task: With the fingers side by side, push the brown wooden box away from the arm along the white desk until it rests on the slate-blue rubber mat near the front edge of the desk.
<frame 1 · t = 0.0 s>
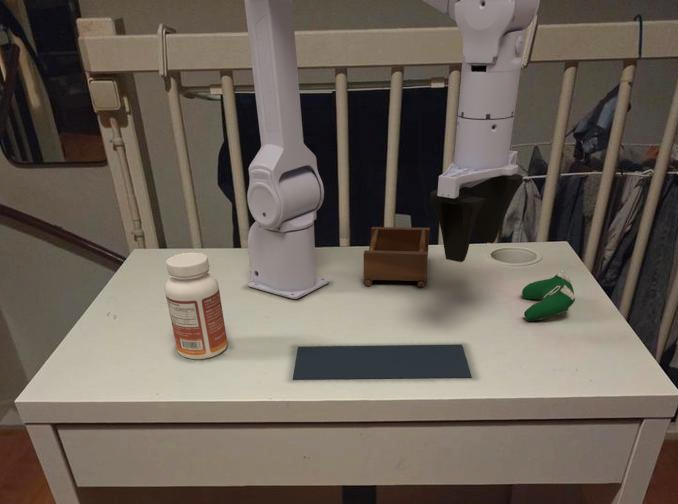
hand: (470, 250, 72), 10 cm above the table, tool pointing down, fingers open, 7 cm apart
mat: (380, 361, 72), on the table
pill bottle: (202, 350, 77), on the table
brown wooden box: (396, 273, 95), on the table
green slippers: (544, 311, 83), on the table
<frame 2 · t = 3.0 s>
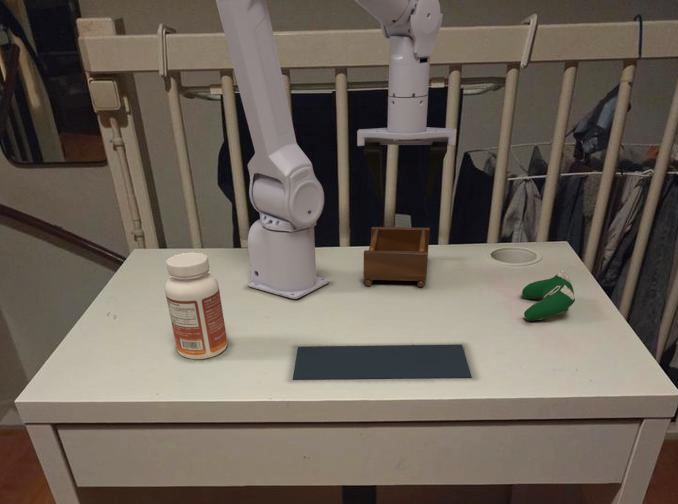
hand: (404, 196, 97), 8 cm above the table, tool pointing down, fingers open, 7 cm apart
nothing on the table moved.
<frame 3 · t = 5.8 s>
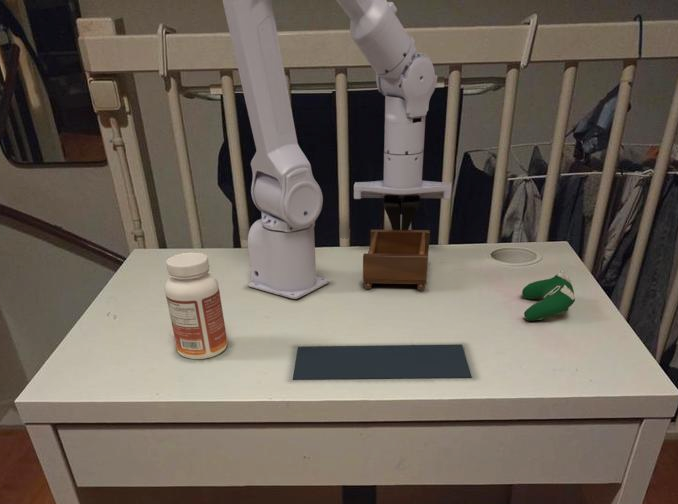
hand: (400, 246, 99), 2 cm above the table, tool pointing down, fingers closed, pressing on brown wooden box
brown wooden box: (396, 276, 94), on the table, touching gripper
everything else where it was.
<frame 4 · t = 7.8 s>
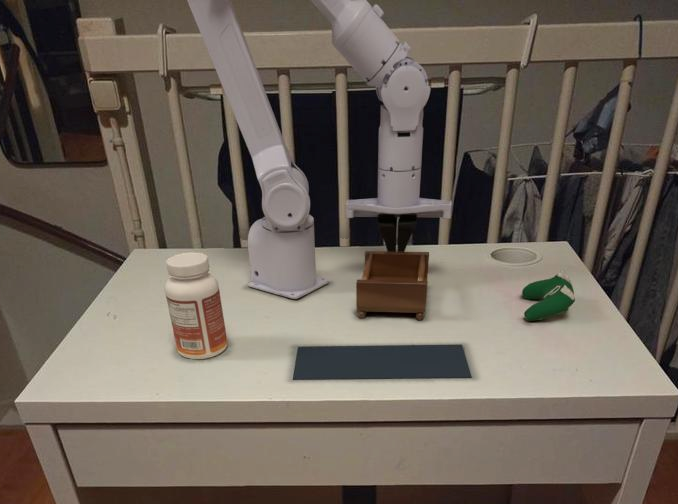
hand: (395, 268, 91), 2 cm above the table, tool pointing down, fingers closed, pressing on brown wooden box
brown wooden box: (393, 302, 86), on the table, touching gripper
everything else where it was.
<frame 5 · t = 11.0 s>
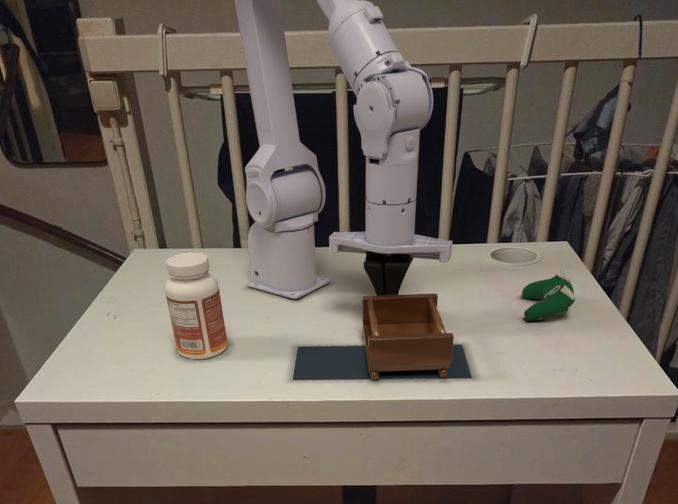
hand: (387, 313, 79), 2 cm above the table, tool pointing down, fingers closed
brown wooden box: (403, 355, 73), on the table, touching gripper, mat
everything else where it was.
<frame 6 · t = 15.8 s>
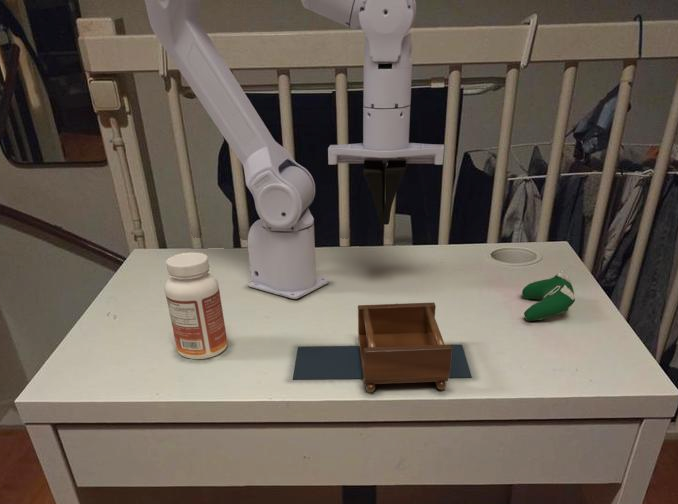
hand: (384, 222, 84), 9 cm above the table, tool pointing down, fingers closed
brown wooden box: (400, 366, 71), on the table, touching mat
everything else where it was.
at the end: brown wooden box inside the target area on the mat (2.6 cm from its centre), point 0.1 cm above the mat's base; brown wooden box tilted 0°; brown wooden box moved 30.3 cm from its start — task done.
